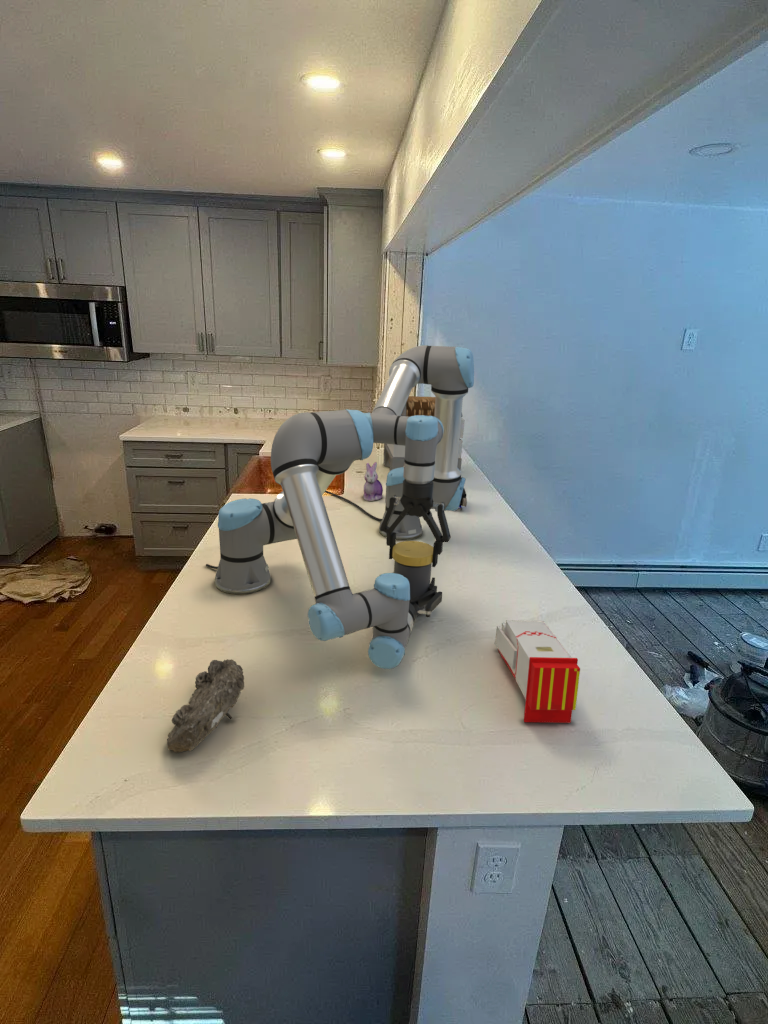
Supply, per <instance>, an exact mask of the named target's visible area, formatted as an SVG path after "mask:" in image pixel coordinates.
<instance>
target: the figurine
mask: <svg viewBox="0 0 768 1024" xmlns="http://www.w3.org/2000/svg"><path fill="white" fill-rule="evenodd" d="M365 464H366V465H365V466H366V467H365V470H366V471H365V474H364V475H363V476H364V480H365V483H364V485H363V495H362V498H363V500H364V501H368V502H373V501H378V500H381V499H382V498H383V493H384V487H383V483H382V482H381V481H380V480H379V475H378V473H377V468H378V462H377V461H375V462H374V463H373V464H372V465H370V463H369V462H366V463H365Z"/></svg>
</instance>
